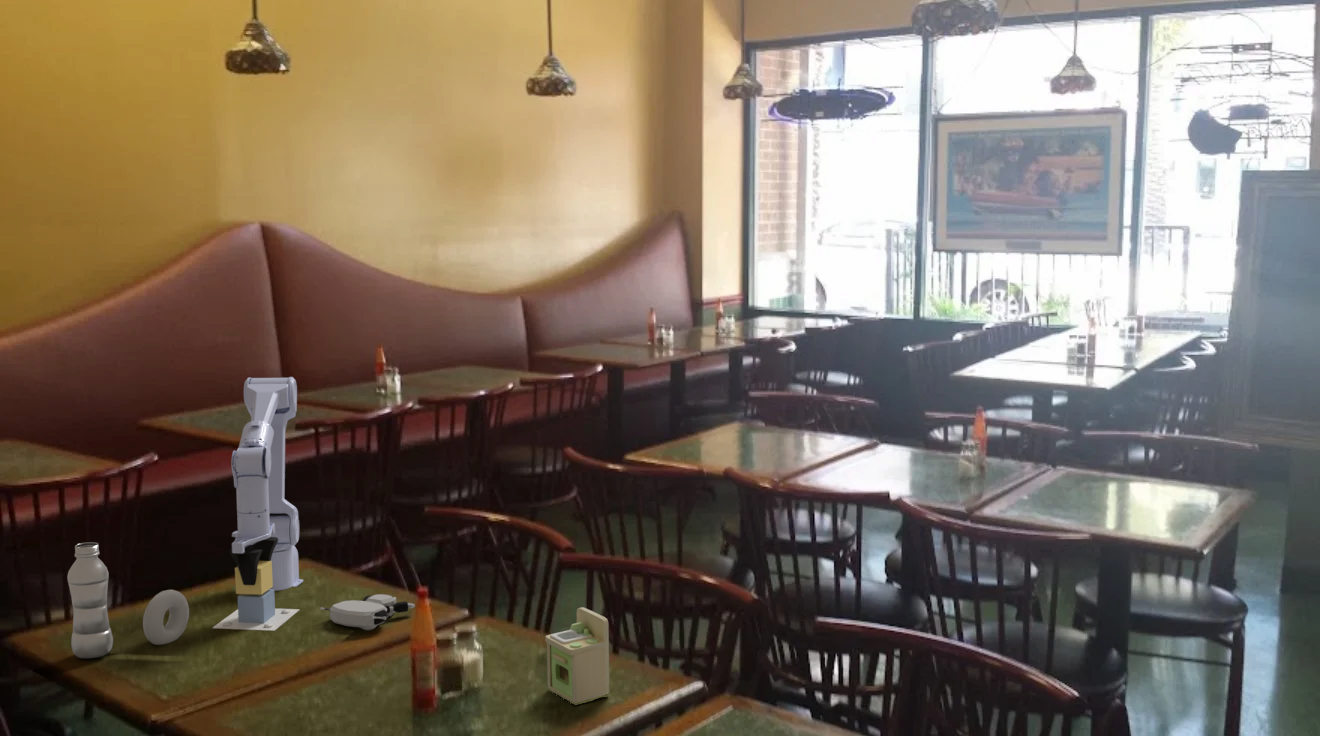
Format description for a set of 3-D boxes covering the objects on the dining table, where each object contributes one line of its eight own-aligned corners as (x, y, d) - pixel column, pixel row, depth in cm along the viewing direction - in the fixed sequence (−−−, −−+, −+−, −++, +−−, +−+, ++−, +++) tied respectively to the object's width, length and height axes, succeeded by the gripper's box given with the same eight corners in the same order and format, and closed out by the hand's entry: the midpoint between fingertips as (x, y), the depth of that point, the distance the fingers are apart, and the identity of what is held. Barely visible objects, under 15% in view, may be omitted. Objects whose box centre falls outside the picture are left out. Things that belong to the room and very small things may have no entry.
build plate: (240, 611, 232) (240, 605, 232) (300, 613, 231) (299, 607, 231) (212, 632, 221) (212, 626, 220) (274, 634, 219) (274, 628, 219)
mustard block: (247, 585, 228) (246, 560, 227) (272, 586, 227) (271, 561, 227) (235, 593, 223) (234, 567, 222) (261, 594, 222) (260, 568, 222)
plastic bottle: (97, 664, 204) (91, 551, 202) (63, 661, 206) (56, 548, 203) (121, 651, 210) (116, 541, 208) (88, 648, 212) (82, 539, 209)
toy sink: (543, 691, 194) (543, 613, 193) (580, 680, 199) (580, 605, 197) (571, 708, 188) (571, 628, 186) (610, 697, 192) (610, 619, 190)
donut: (155, 655, 209) (152, 600, 208) (139, 652, 210) (136, 597, 209) (194, 636, 218) (192, 583, 217) (179, 634, 219) (177, 581, 218)
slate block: (250, 613, 228) (249, 588, 228) (275, 614, 228) (274, 589, 227) (238, 622, 224) (237, 596, 223) (264, 623, 223) (263, 597, 222)
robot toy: (367, 611, 236) (317, 628, 222) (368, 588, 236) (317, 605, 222) (418, 619, 231) (371, 638, 218) (419, 596, 231) (371, 613, 217)
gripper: (249, 500, 231) (251, 568, 232) (214, 519, 216) (217, 591, 218) (284, 501, 230) (286, 569, 232) (252, 520, 216) (254, 592, 217)
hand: (255, 580), depth 225 cm, fingers closed on mustard block, 5 cm apart
